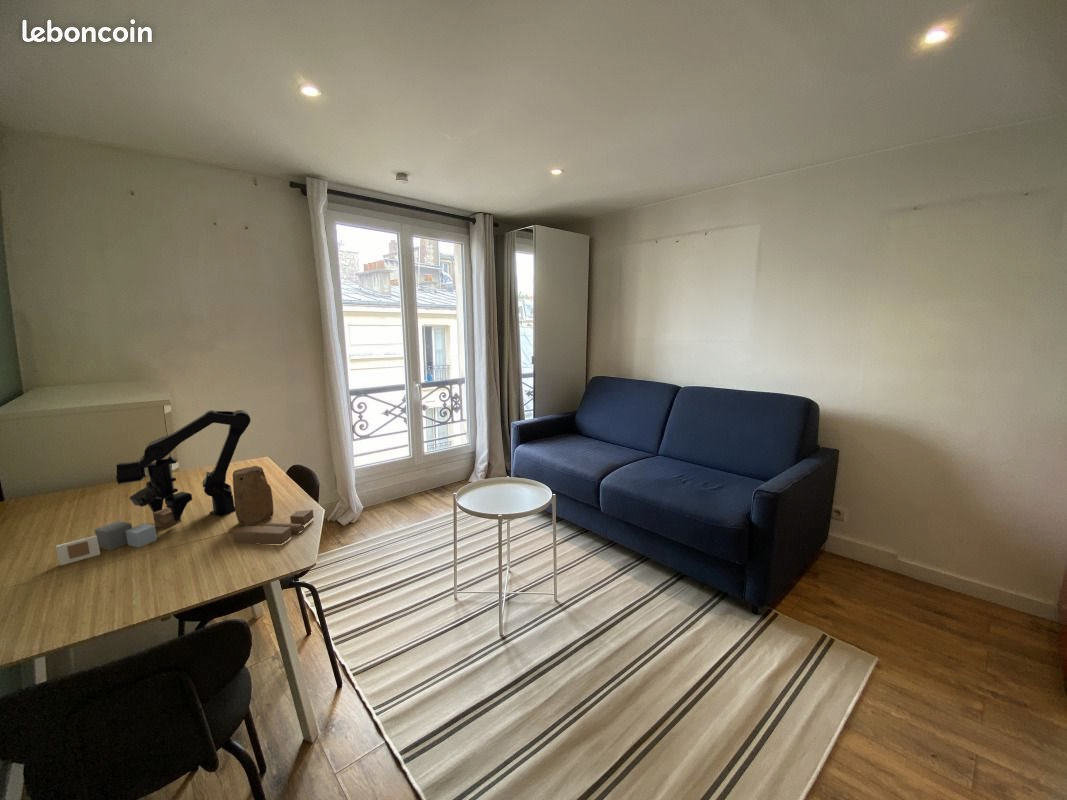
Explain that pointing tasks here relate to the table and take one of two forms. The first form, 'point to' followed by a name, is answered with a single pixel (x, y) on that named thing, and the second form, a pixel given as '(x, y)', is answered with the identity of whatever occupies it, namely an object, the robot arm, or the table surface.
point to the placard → (78, 550)
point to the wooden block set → (273, 530)
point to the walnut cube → (164, 518)
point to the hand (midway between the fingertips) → (167, 518)
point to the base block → (112, 535)
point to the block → (252, 496)
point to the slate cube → (141, 535)
